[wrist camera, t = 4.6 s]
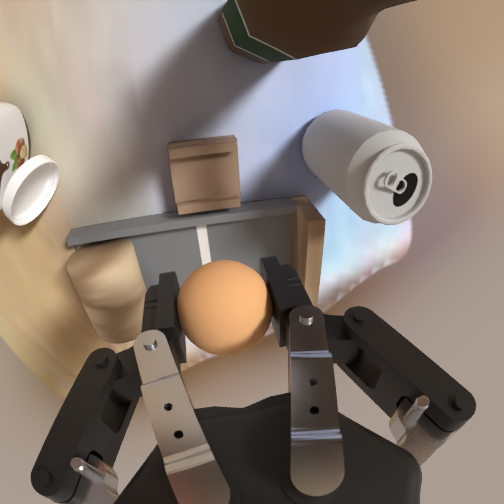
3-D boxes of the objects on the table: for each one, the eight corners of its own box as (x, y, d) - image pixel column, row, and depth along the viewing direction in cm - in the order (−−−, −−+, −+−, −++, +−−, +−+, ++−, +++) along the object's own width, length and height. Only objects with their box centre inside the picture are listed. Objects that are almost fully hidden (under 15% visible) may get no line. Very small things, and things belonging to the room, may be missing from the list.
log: (101, 301, 34) (90, 345, 28) (77, 241, 29) (57, 282, 23) (155, 294, 34) (152, 340, 29) (137, 231, 30) (127, 272, 24)
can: (342, 189, 32) (403, 247, 22) (285, 158, 29) (336, 210, 19) (376, 132, 29) (453, 169, 19) (322, 94, 26) (395, 113, 16)
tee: (177, 201, 30) (176, 215, 27) (168, 143, 26) (166, 150, 24) (237, 193, 30) (242, 206, 28) (233, 134, 27) (238, 141, 25)
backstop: (288, 281, 38) (302, 312, 33) (290, 197, 32) (308, 221, 27) (301, 278, 38) (316, 309, 33) (305, 195, 32) (325, 219, 27)
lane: (102, 306, 35) (98, 318, 33) (71, 229, 29) (65, 239, 27) (288, 281, 38) (293, 292, 36) (290, 197, 32) (297, 205, 30)
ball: (186, 314, 15) (189, 379, 12) (169, 249, 13) (164, 314, 10) (264, 303, 16) (282, 365, 12) (260, 235, 14) (283, 295, 10)
